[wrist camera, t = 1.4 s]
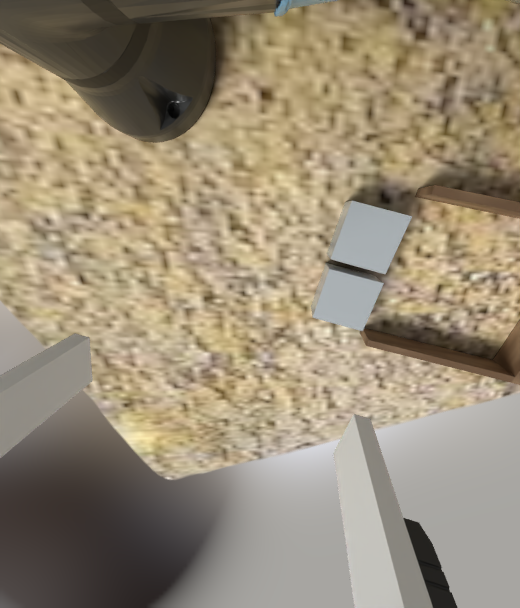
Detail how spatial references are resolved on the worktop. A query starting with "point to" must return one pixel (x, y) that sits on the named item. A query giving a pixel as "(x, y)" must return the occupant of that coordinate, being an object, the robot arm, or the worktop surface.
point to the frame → (505, 366)
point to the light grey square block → (367, 236)
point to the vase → (514, 1)
